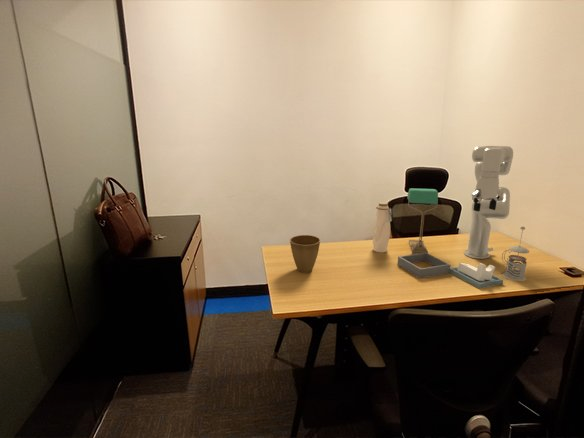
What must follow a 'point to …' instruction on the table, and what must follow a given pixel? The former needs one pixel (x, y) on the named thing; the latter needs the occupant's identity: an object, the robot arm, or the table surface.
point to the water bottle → (382, 228)
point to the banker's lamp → (421, 197)
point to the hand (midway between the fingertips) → (484, 210)
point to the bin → (438, 268)
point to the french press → (516, 263)
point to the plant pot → (305, 251)
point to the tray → (479, 284)
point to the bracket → (477, 271)
